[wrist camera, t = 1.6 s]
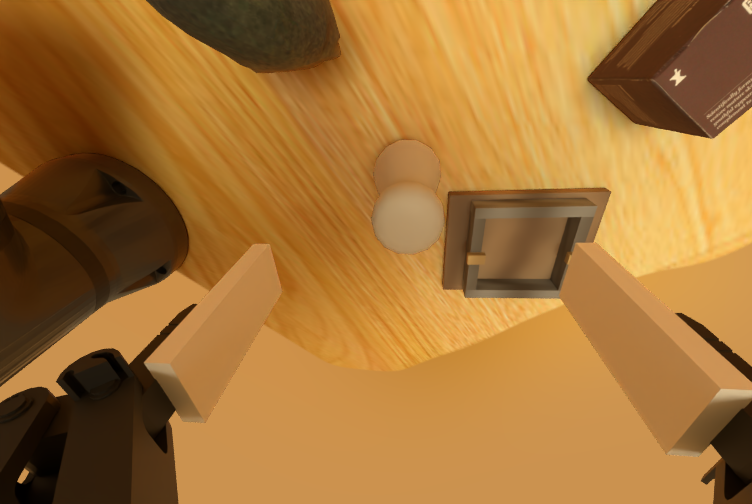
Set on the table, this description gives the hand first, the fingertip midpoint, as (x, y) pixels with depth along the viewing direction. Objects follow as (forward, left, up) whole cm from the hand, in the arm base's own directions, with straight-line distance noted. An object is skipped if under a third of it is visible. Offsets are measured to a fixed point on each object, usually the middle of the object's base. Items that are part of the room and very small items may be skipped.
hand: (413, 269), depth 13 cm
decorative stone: (-8, +11, -17) cm, 22 cm away
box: (+18, +7, -17) cm, 26 cm away
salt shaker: (0, 0, -17) cm, 17 cm away
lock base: (+11, -8, -17) cm, 22 cm away
